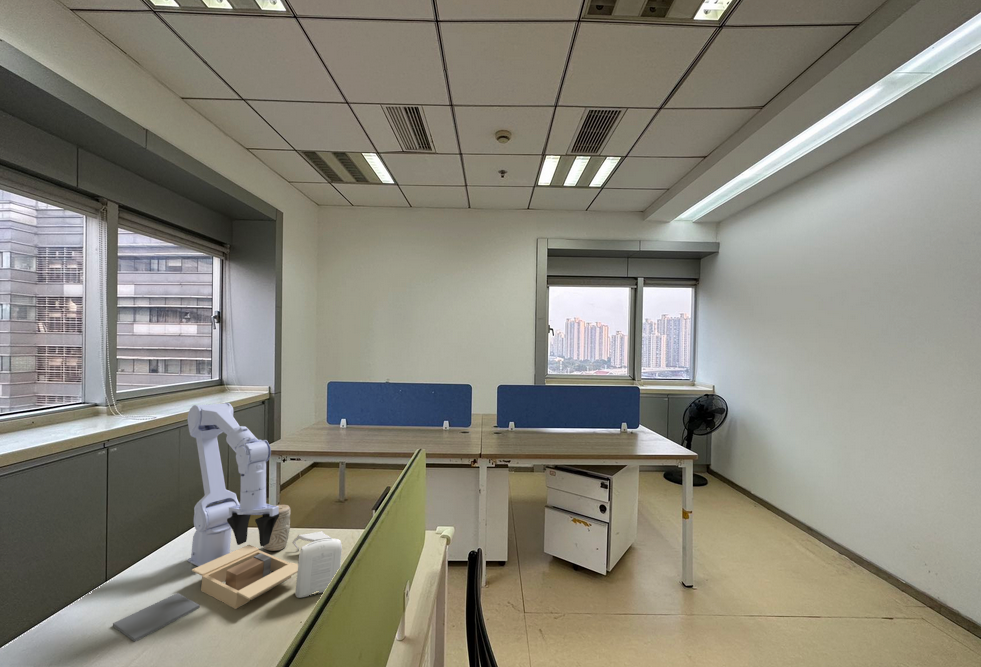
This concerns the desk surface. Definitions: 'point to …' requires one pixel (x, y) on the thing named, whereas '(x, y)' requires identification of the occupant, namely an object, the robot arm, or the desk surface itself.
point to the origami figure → (311, 537)
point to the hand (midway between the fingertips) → (253, 544)
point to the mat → (155, 616)
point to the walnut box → (248, 572)
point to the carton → (214, 587)
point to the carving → (280, 530)
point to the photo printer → (317, 566)
